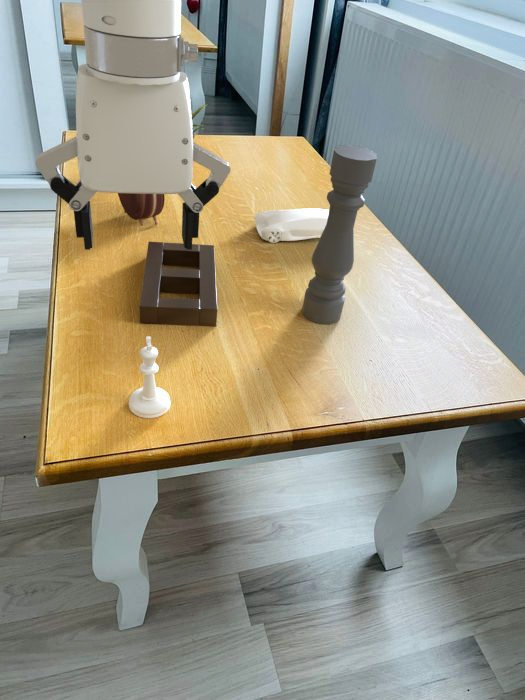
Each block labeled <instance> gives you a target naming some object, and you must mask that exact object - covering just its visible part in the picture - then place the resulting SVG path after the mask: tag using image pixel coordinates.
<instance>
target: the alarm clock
mask: <svg viewBox="0 0 525 700" xmlns="http://www.w3.org/2000/svg"><path fill="white" fill-rule="evenodd" d="M117 196H118V199H119V203H120V204H121V206H122V209H123V210H124V212H123V213H124V214H127V216H129V218H131V219H132V220H134V221H139V225H140V227H142V226H143V220H147V219H150V218H152V219H153V221H154V225H156V226H157V225H158V224H159V223H158V221H157V216H159V215H160V214H161V213H162V211H163V209H164V207H165V199H166V198H165V194H135V193H117Z"/></svg>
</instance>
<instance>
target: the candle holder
mask: <svg viewBox="0 0 525 700" xmlns="http://www.w3.org/2000/svg"><path fill="white" fill-rule="evenodd" d="M377 159H378V154H377V153H376V152H375V151H373V150H371V149H370V148H367V147H364V146H359V145H353V144H352V145H350V144H341V145H337V146H335V147H334V149H333V153H332V157H331V162H330V167H329V175H330V182H331V187H332V190H329V191H328V192H327V195H326V200H327V202H328V205H329V209H328V210H329V214H328V219H327V224H326V226H325V228H324V231H323V233H322V235H321V237H320V238H318V242H317V244H316V246H315V248H314V250H313V252H312V256H311V264H312V267H313V269H314V276H313V277H312V278H311V279H310V280H309V281H308V284H307V287H306V290H305V292H304V297H303V301H302V308H301V312H302V315H303V316H304V317H305V318H306V319H307V320H309V321H311V322H313V323H315V324H320V325H333V324H335V323H338V322H339V321H340V320H341V318H342V313H343V309H344V305H345V301H346V295H345V293H346V286H345V284H344V282H343V281H344V280H345V277H346V276H347V275H348V274H349V273H350V272H351V271H352V269H353V266H354V261H355V246H354V245H355V243H354V242H355V241H354V240H355V238H354V237H355V234H354V231H355V229H354V228H355V223H356V220H357V214H358V211H360V209H361V208H363V207H364V206H365V203H366V199H365V197H364V196H363V194H364V193H365V192H364V191H365V190H366V189H368V188H369V184H370V183H372V180H373V176H374V172H375V168H376V163H377Z"/></svg>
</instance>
